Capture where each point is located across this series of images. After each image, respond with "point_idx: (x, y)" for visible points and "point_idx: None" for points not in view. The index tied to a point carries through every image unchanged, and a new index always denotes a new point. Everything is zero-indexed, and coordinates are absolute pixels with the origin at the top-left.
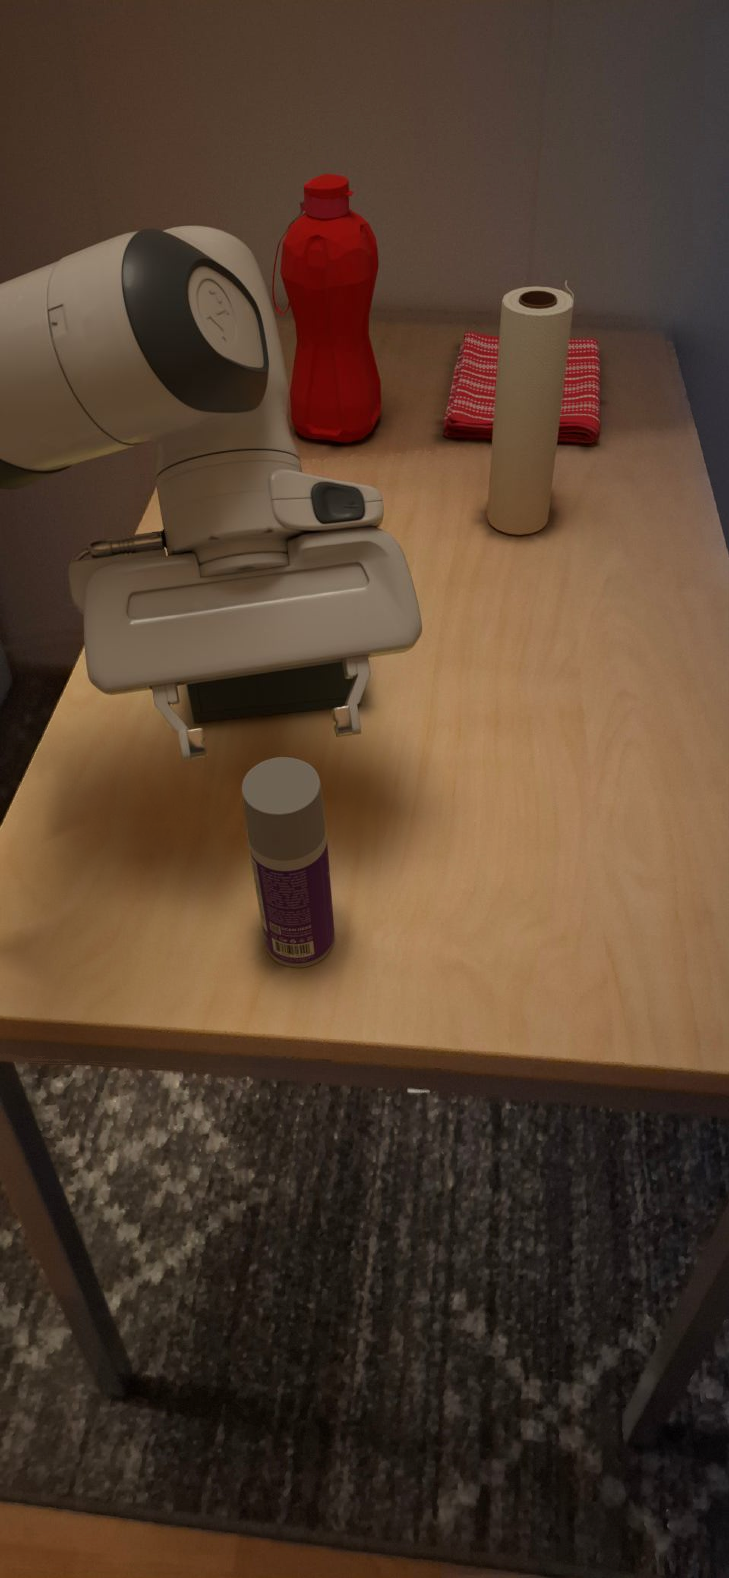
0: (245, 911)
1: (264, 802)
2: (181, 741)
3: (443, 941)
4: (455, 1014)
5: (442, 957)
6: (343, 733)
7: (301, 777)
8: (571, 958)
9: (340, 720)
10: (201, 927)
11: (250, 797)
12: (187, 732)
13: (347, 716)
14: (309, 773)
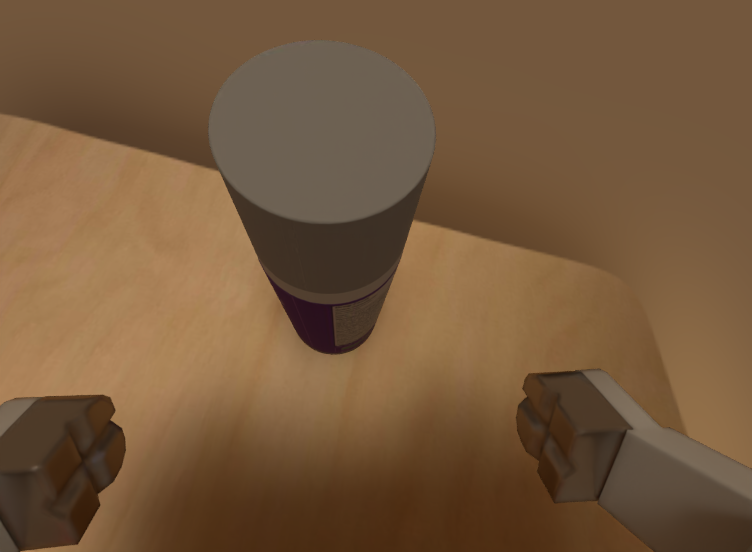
0: (397, 365)
1: (376, 79)
2: (629, 398)
3: (166, 280)
4: (188, 194)
5: (176, 259)
6: (82, 395)
7: (260, 133)
8: (27, 232)
9: (54, 423)
10: (450, 349)
11: (412, 102)
12: (625, 419)
13: (15, 437)
14: (233, 142)
